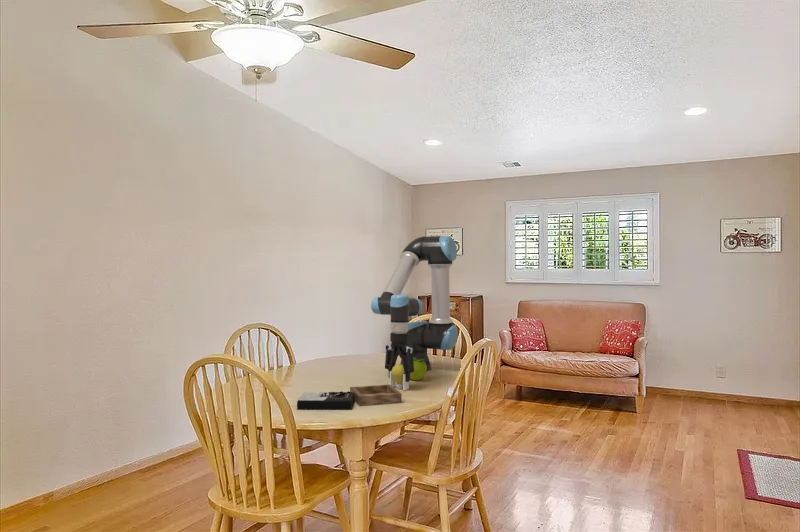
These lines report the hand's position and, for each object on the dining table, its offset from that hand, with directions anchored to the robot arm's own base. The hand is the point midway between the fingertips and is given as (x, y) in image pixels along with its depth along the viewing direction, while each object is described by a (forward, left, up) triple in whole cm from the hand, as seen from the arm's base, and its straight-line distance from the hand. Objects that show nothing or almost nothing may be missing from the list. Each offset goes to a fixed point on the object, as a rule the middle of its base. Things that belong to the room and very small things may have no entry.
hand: (399, 387), depth 222 cm
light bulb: (0, 0, -1) cm, 1 cm away
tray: (+14, +14, 0) cm, 20 cm away
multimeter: (+33, +17, -1) cm, 37 cm away
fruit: (-12, -14, -1) cm, 19 cm away
